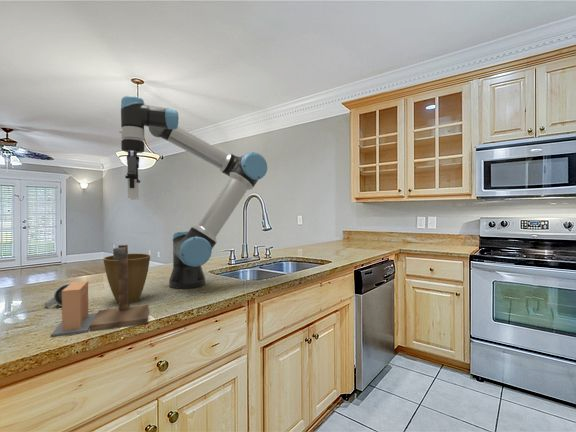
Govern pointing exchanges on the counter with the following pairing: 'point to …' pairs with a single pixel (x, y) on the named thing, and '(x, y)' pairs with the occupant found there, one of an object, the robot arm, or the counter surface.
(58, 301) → the ceramic mug
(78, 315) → the orange notched block
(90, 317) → the mat
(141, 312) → the hook stand
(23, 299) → the counter surface
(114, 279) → the plant pot
